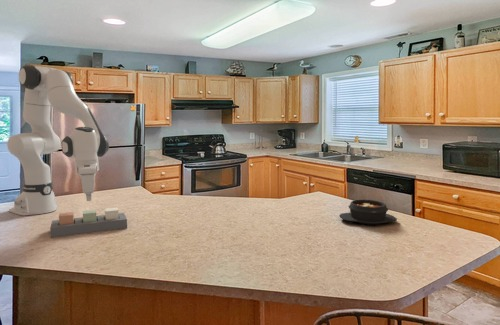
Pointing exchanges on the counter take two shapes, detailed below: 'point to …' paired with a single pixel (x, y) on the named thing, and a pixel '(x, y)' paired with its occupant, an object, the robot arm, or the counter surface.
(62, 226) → the console
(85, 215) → the sage green block
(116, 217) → the cream block
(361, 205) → the casserole
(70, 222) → the terracotta block
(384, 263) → the counter surface
